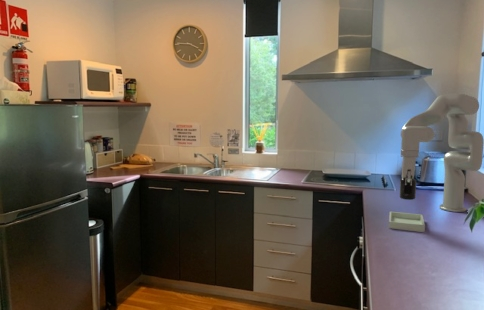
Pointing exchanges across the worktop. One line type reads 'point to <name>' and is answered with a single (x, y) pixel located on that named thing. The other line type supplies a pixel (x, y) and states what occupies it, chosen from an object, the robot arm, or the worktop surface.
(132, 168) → the worktop surface
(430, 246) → the worktop surface
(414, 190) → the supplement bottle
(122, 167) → the worktop surface
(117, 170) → the worktop surface
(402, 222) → the tray
